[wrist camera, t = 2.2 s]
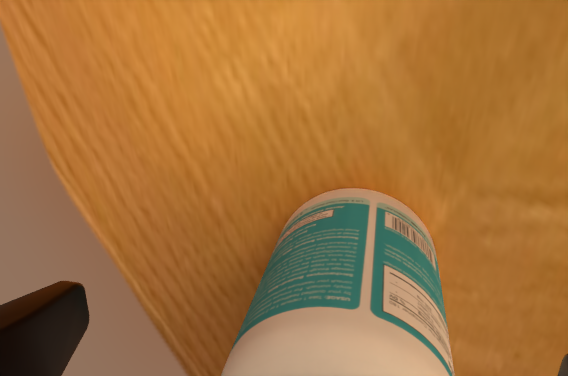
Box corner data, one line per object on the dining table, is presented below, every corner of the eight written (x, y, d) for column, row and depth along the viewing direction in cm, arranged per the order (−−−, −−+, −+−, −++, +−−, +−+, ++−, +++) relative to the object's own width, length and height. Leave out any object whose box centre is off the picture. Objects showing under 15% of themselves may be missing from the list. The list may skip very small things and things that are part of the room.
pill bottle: (273, 294, 26) (162, 577, 14) (293, 167, 23) (171, 387, 11) (415, 330, 25) (430, 668, 13) (456, 201, 22) (529, 488, 10)
